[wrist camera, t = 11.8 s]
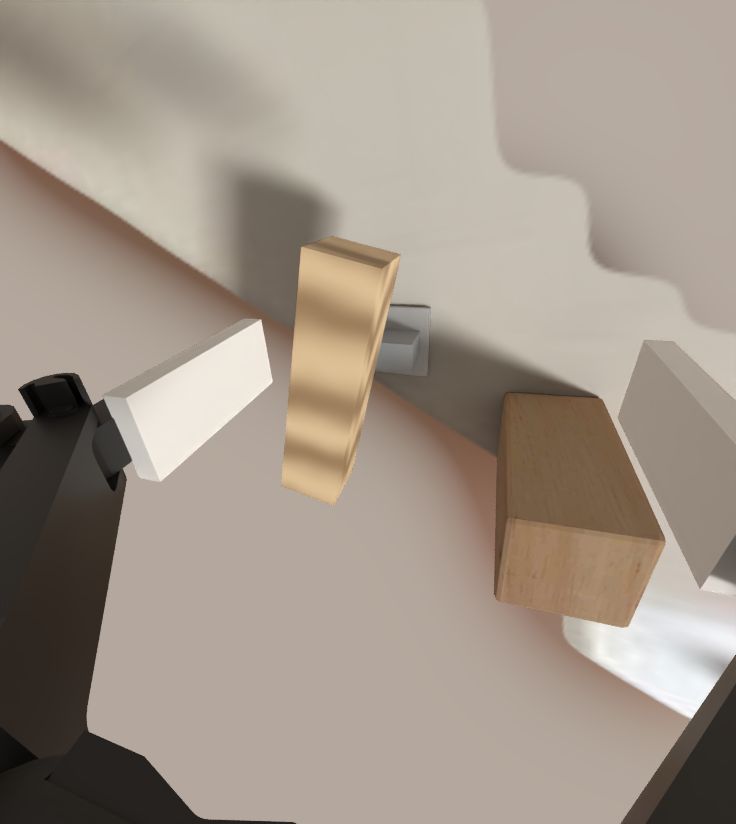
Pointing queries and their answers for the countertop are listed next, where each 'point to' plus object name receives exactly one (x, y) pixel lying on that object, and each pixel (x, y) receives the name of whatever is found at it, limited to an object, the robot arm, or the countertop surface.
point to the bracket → (405, 341)
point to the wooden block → (570, 512)
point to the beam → (333, 360)
